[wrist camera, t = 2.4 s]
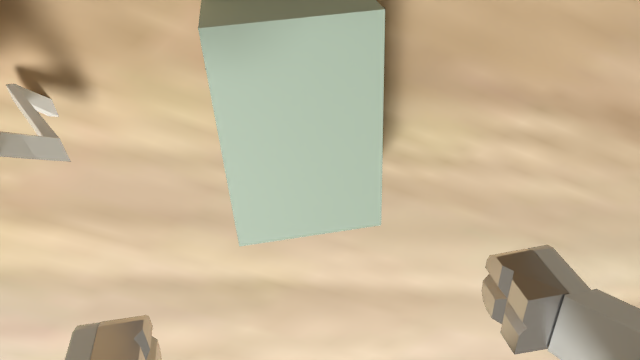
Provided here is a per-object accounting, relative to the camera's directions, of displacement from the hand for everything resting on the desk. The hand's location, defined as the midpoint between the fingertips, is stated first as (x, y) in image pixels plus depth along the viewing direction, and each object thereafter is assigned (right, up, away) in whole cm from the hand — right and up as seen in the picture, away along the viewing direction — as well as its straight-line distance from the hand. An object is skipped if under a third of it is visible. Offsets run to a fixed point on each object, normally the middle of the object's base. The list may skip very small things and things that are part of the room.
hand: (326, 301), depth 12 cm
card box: (-1, +7, +10) cm, 12 cm away
